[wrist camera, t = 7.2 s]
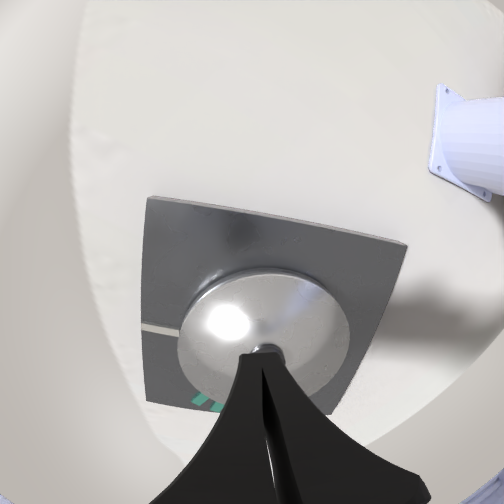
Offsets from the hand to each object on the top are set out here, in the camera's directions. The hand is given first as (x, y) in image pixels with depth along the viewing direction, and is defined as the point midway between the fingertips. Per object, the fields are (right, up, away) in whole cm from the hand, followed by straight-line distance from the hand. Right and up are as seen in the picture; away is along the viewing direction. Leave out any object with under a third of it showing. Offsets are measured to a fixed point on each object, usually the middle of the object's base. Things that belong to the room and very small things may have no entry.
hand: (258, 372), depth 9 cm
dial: (+1, -2, +10) cm, 10 cm away
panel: (+1, -2, +11) cm, 11 cm away
